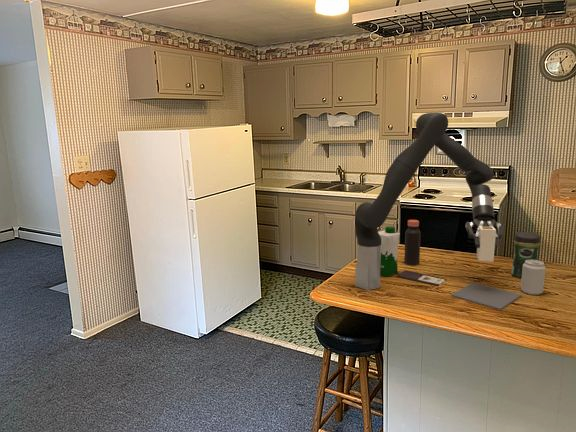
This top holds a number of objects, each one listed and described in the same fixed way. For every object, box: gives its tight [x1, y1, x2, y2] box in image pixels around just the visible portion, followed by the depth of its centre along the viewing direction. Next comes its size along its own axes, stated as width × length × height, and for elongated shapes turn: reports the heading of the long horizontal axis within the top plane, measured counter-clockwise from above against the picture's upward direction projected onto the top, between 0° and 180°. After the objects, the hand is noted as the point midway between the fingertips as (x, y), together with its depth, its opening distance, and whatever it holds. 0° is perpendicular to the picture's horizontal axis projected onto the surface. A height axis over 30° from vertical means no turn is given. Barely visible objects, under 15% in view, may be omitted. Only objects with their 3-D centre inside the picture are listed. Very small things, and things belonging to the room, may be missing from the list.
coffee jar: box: [511, 231, 541, 279], centre depth 181 cm, size 10×8×19 cm
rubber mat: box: [450, 282, 522, 311], centre depth 162 cm, size 18×18×1 cm
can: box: [520, 259, 546, 296], centre depth 164 cm, size 8×8×12 cm
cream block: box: [476, 226, 497, 263], centre depth 163 cm, size 5×5×12 cm
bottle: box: [403, 219, 422, 266], centre depth 200 cm, size 7×7×20 cm
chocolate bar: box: [395, 270, 447, 287], centre depth 182 cm, size 9×1×18 cm
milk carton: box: [378, 226, 401, 278], centre depth 187 cm, size 9×9×20 cm
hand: (487, 247), depth 161 cm, fingers closed on cream block, 5 cm apart
